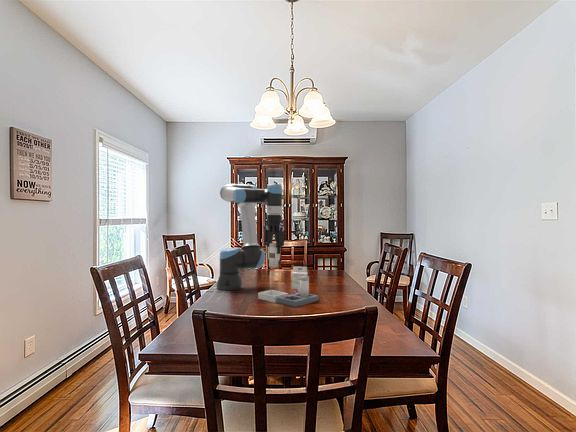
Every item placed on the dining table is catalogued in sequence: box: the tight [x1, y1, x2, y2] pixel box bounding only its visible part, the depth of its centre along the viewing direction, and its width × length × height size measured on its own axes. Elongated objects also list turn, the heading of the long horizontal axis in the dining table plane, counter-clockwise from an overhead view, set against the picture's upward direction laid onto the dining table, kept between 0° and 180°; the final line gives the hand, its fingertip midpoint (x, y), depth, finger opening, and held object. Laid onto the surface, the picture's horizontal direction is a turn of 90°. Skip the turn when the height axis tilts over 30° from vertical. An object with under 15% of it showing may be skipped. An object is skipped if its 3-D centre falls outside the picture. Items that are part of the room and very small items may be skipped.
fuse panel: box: [276, 292, 320, 308], centre depth 182 cm, size 12×18×3 cm, turn 138°
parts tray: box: [257, 289, 289, 303], centre depth 187 cm, size 12×10×3 cm
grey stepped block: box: [291, 265, 309, 294], centre depth 201 cm, size 9×5×15 cm, turn 84°
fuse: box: [300, 276, 310, 297], centre depth 185 cm, size 5×5×12 cm
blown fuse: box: [268, 242, 279, 268], centre depth 187 cm, size 5×5×12 cm
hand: (273, 259), depth 187 cm, fingers closed on blown fuse, 5 cm apart
